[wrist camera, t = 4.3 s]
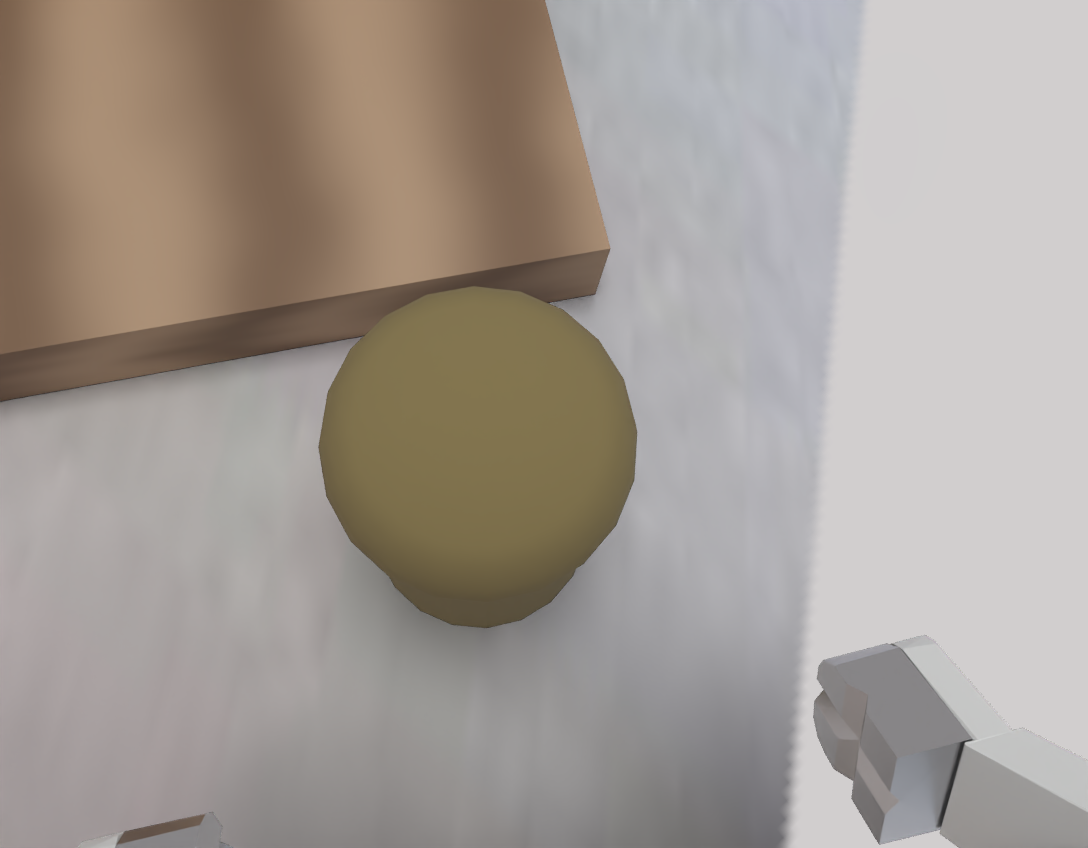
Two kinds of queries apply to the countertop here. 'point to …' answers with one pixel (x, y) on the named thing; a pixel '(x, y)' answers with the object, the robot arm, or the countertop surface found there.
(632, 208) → the countertop surface
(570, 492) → the cork
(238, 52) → the dock
